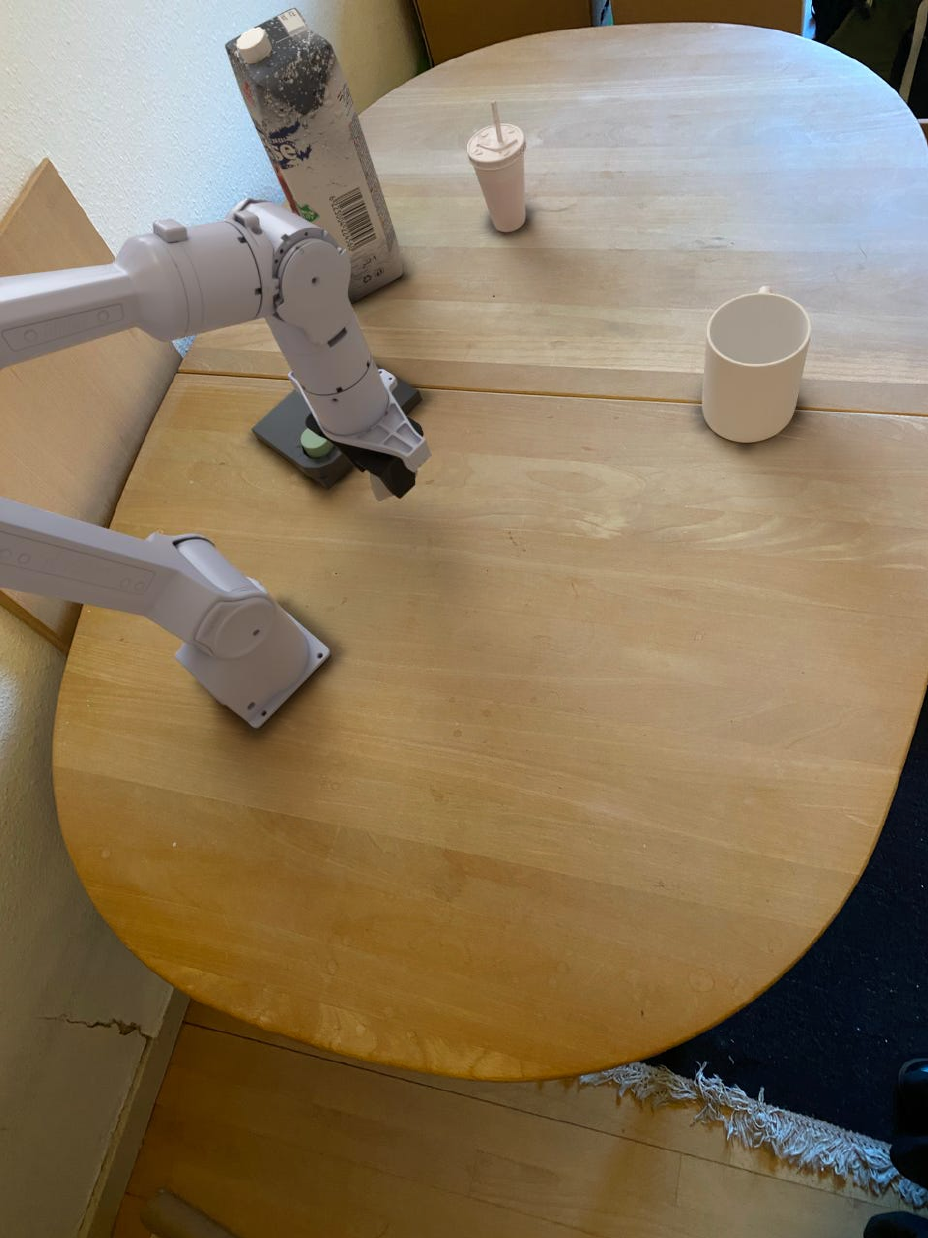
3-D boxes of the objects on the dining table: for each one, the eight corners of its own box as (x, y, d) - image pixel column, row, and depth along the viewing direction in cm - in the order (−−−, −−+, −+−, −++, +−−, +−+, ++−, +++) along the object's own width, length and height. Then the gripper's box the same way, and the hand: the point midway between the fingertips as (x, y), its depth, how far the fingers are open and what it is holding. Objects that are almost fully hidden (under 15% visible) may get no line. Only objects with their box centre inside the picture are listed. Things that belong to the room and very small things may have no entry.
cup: (694, 441, 77) (699, 363, 69) (713, 344, 82) (720, 259, 73) (789, 449, 75) (806, 369, 66) (803, 348, 80) (821, 261, 71)
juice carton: (377, 230, 101) (291, -19, 77) (414, 276, 96) (335, 25, 72) (312, 265, 100) (207, 25, 77) (347, 314, 95) (245, 73, 72)
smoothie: (532, 239, 94) (513, 119, 82) (477, 241, 96) (451, 124, 84) (541, 200, 97) (523, 78, 85) (487, 203, 99) (463, 84, 86)
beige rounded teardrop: (426, 468, 74) (419, 450, 71) (404, 514, 72) (396, 497, 70) (384, 459, 75) (376, 441, 73) (361, 504, 73) (352, 487, 71)
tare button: (319, 463, 82) (313, 453, 81) (300, 449, 84) (294, 439, 82) (340, 442, 83) (335, 432, 82) (321, 429, 84) (315, 419, 83)
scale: (327, 495, 84) (316, 477, 81) (253, 440, 89) (241, 421, 87) (425, 400, 87) (418, 380, 84) (347, 353, 92) (338, 332, 90)
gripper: (440, 370, 58) (477, 485, 70) (310, 293, 64) (364, 409, 76) (369, 437, 57) (419, 543, 68) (244, 351, 63) (309, 461, 75)
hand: (387, 476), depth 72 cm, fingers closed on beige rounded teardrop, 4 cm apart
